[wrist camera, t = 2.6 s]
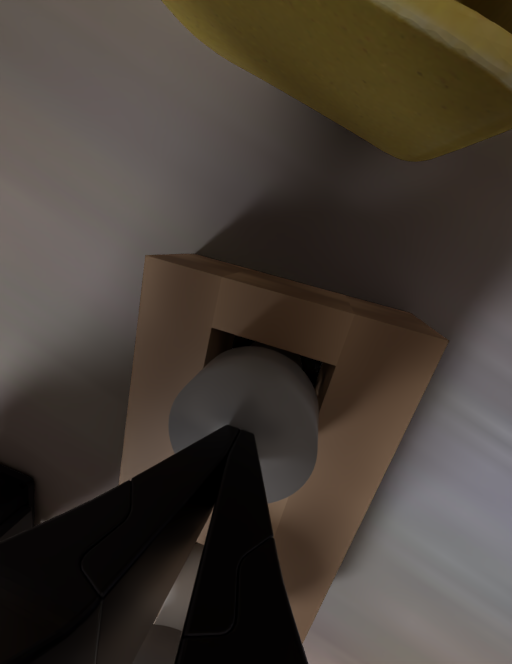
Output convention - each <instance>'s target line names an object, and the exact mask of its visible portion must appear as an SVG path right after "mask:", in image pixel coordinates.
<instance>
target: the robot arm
mask: <svg viewBox="0 0 512 664" xmlns="http://www.w3.org/2000/svg"><path fill="white" fill-rule="evenodd" d="M213 507H214V508H213ZM212 510H213V512H212ZM211 512H212V516H211V520H210V523H209V527H208V531H207V535H206V539H205V543H204V547H203V551H202V555H201V558H200V562H199V566H198V570H197V574H196V578H195V582H194V586H193V590H192V594H191V597H190V601H189V605H188V609H187V613H186V617H185V621H184V625H183V629H182V632H181V636H180V640H179V644H178V648H177V652H176V656H175V660H174V664H308V661H307V658H306V655H305V651H304V648H303V645H302V642H301V638H300V635H299V632H298V629H297V626H296V622H295V619H294V616H293V613H292V609H291V605H290V602H289V598H288V595H287V591H286V588H285V584H284V581H283V576H282V572H281V567H280V563H279V558H278V553H277V548H276V543H275V539H274V538H273V537H274V533H273V528H272V523H271V518H270V513H269V507H268V502H267V497H266V492H265V486H264V481H263V476H262V471H261V465H260V460H259V455H258V450H257V445H256V439H255V435H254V434H253V433H251V432H248V431H245V430H241V431H240V429H239V428H237V427H234V426H231V425H225V426H223V427H221V428H219V429H218V430H216V431H214V432H212V433H211V434H209V435H207V436H205V437H204V438H202V439H200V440H198V441H197V442H195V443H193V444H191V445H189V446H188V447H186V448H184V449H182V450H181V451H179V452H177V453H175V454H174V455H172V456H170V457H168V458H166V459H165V460H163V461H161V462H159V463H158V464H156V465H154V466H152V467H151V468H149V469H147V470H145V471H143V472H142V473H140V474H138V475H136V476H135V477H133V478H132V479H131V480H127V481H126V482H124V483H122V484H120V485H118V486H117V487H115V488H113V489H111V490H109V491H107V492H106V493H104V494H102V495H100V496H98V497H96V498H94V499H92V500H90V501H88V502H86V503H84V504H82V505H80V506H78V507H76V508H74V509H71V510H69V511H67V512H65V513H63V514H61V515H59V516H56V517H54V518H52V519H50V520H47V521H45V522H43V523H41V524H39V525H36V526H34V483H33V480H32V479H31V478H30V477H28V476H26V475H24V474H22V473H19V472H17V471H14V470H12V469H10V468H7V467H5V466H3V465H0V664H132V663H133V661H134V659H135V657H136V655H137V653H138V652H139V650H140V648H141V646H142V644H143V642H144V640H145V638H146V636H147V634H148V632H149V631H150V629H151V627H152V625H153V623H154V621H155V619H156V617H157V615H158V613H159V611H160V610H161V608H162V606H163V604H164V602H165V600H166V598H167V596H168V594H169V592H170V590H171V589H172V587H173V585H174V583H175V581H176V579H177V577H178V575H179V573H180V571H181V569H182V568H183V566H184V564H185V562H186V560H187V558H188V556H189V554H190V552H191V550H192V549H193V547H194V545H195V543H196V541H197V539H198V537H199V535H200V533H201V531H202V529H203V528H204V526H205V524H206V522H207V520H208V518H209V516H210V514H211Z"/></svg>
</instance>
